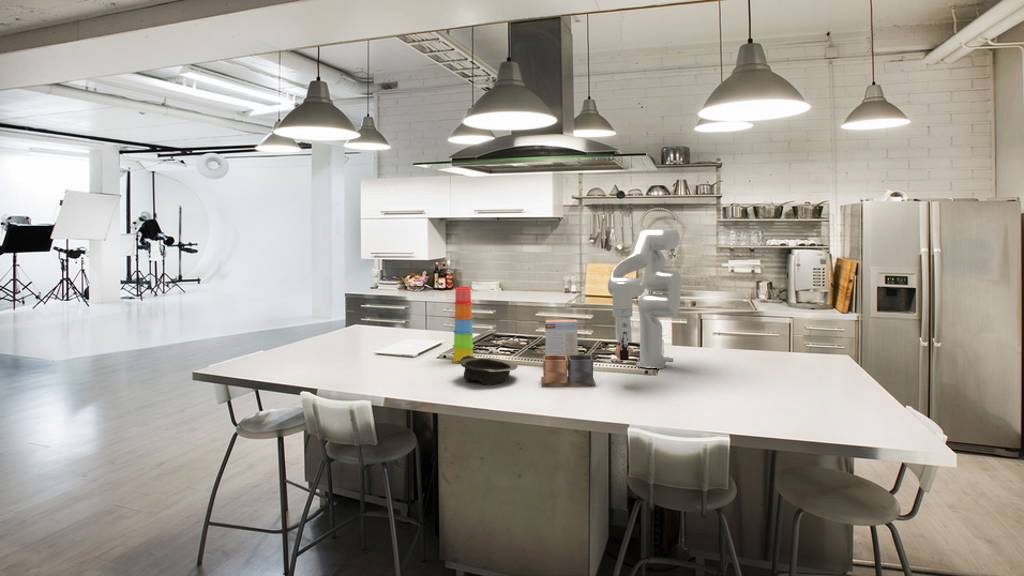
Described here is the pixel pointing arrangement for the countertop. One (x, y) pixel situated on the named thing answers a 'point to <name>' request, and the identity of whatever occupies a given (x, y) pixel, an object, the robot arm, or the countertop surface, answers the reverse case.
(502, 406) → the countertop surface
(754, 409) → the countertop surface
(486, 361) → the stone bowl
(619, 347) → the ball
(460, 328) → the stacking cups
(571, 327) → the cracker box
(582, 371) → the double bin organizer
